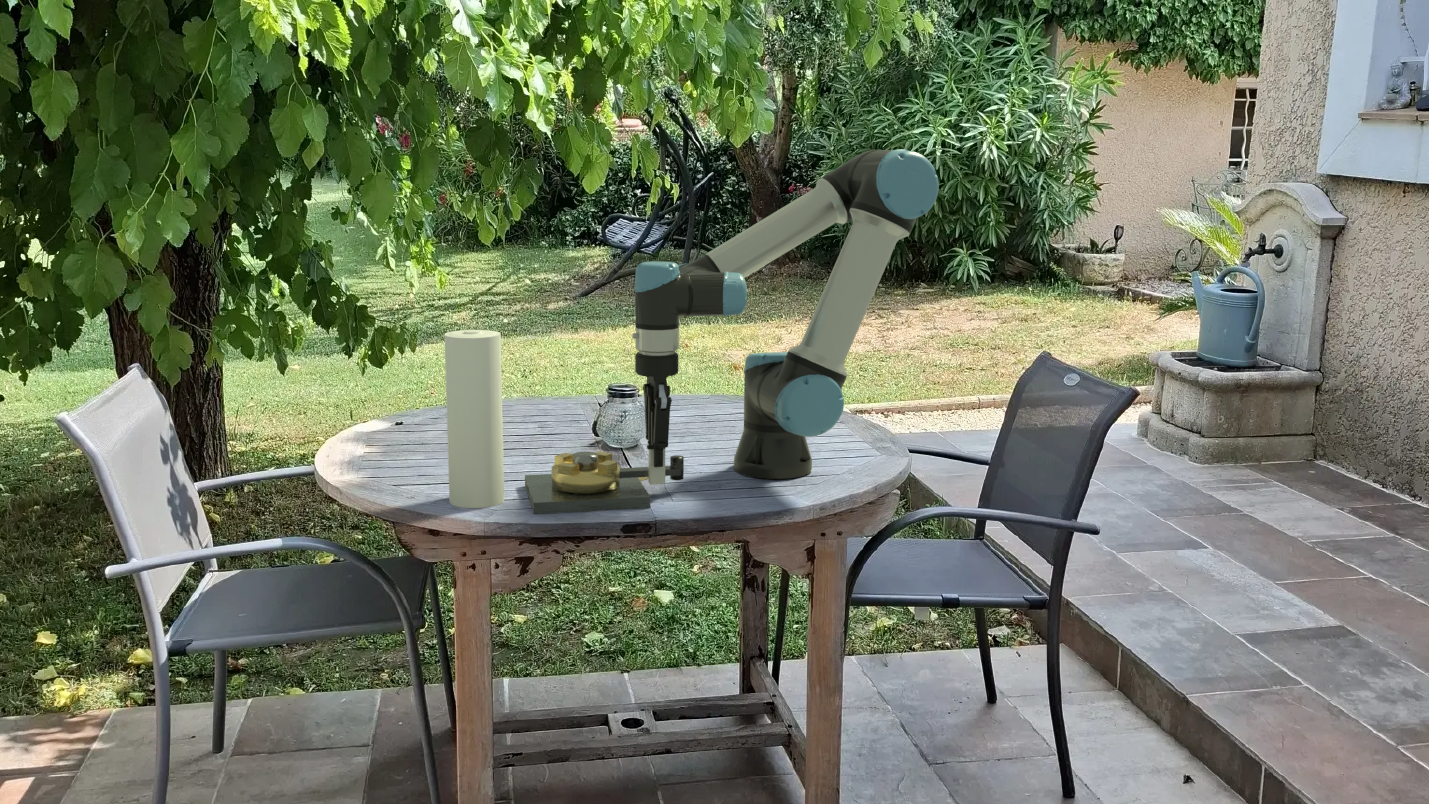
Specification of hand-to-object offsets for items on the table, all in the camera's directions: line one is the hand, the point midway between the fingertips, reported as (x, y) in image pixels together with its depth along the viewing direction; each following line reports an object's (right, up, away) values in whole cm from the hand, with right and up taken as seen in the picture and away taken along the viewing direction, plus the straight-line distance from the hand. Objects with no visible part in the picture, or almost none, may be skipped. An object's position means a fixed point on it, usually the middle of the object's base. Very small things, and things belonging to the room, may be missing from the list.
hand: (656, 482), depth 217 cm
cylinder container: (-31, -3, -2) cm, 32 cm away
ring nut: (-7, 0, +2) cm, 7 cm away
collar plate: (-11, -2, +3) cm, 12 cm away
